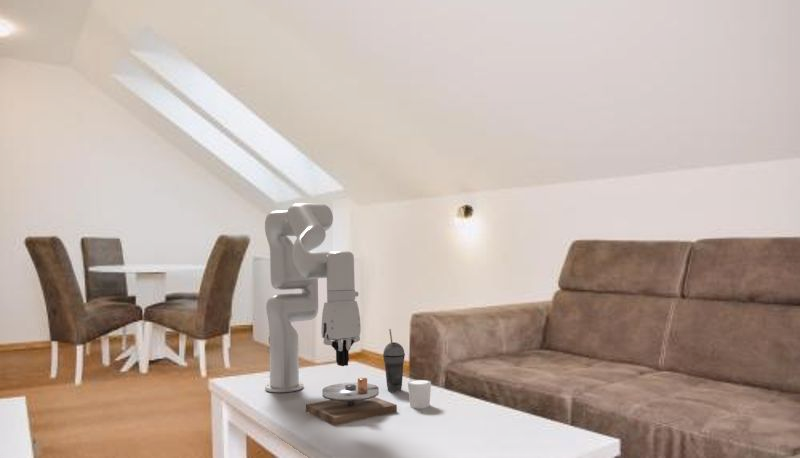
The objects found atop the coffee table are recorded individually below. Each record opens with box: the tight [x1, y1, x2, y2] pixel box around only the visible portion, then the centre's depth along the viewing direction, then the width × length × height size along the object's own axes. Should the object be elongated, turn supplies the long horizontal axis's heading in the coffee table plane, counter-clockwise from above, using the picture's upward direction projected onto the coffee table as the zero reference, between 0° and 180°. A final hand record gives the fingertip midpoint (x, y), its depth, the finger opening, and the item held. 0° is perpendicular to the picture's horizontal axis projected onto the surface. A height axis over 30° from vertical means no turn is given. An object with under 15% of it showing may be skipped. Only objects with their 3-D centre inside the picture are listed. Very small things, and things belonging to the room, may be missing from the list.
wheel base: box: [305, 396, 398, 426], centre depth 164 cm, size 17×20×5 cm
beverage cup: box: [382, 328, 406, 393], centre depth 189 cm, size 7×7×20 cm
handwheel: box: [321, 377, 380, 401], centre depth 164 cm, size 16×16×5 cm
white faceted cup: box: [407, 379, 432, 409], centre depth 169 cm, size 7×7×7 cm
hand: (342, 365), depth 155 cm, fingers closed
